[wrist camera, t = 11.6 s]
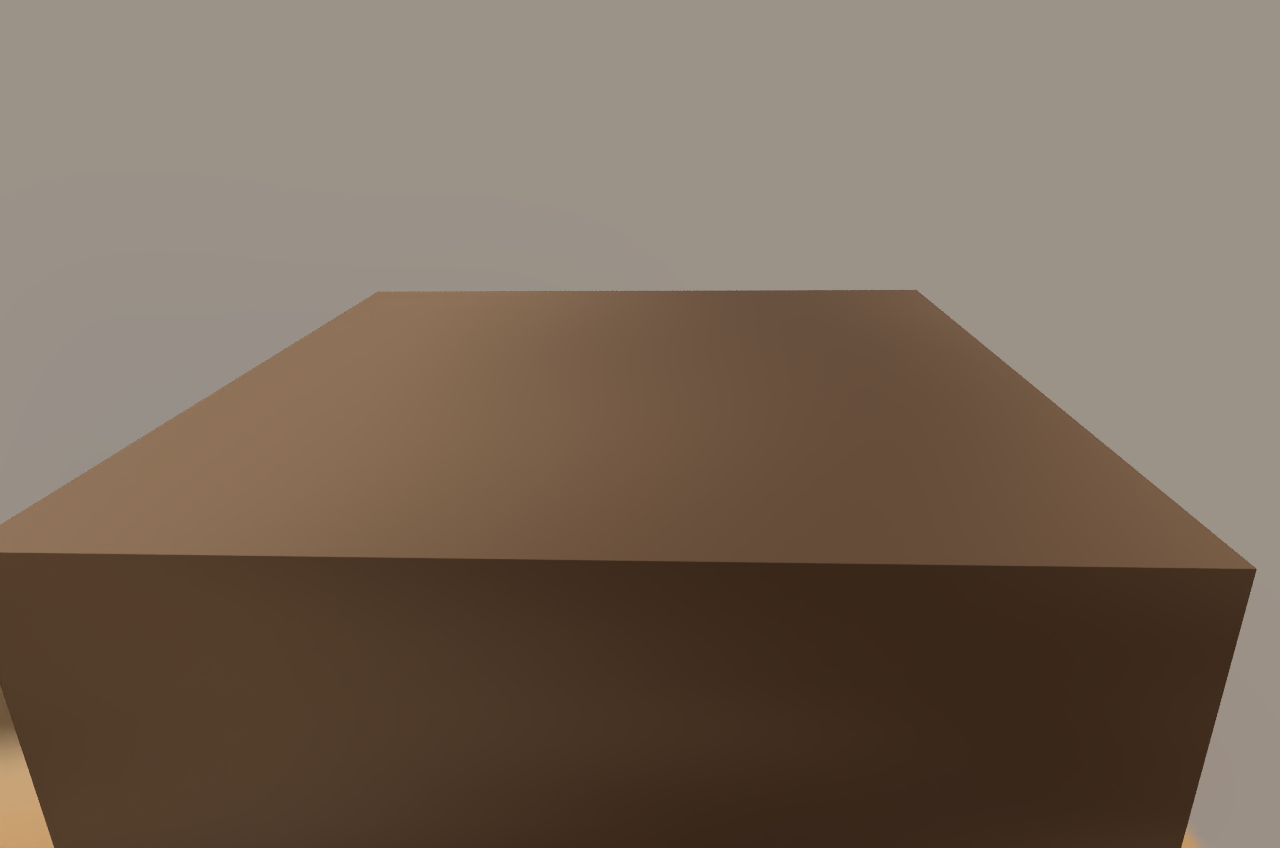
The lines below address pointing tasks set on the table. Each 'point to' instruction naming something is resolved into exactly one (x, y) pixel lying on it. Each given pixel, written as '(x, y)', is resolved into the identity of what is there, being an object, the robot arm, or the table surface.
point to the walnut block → (618, 594)
